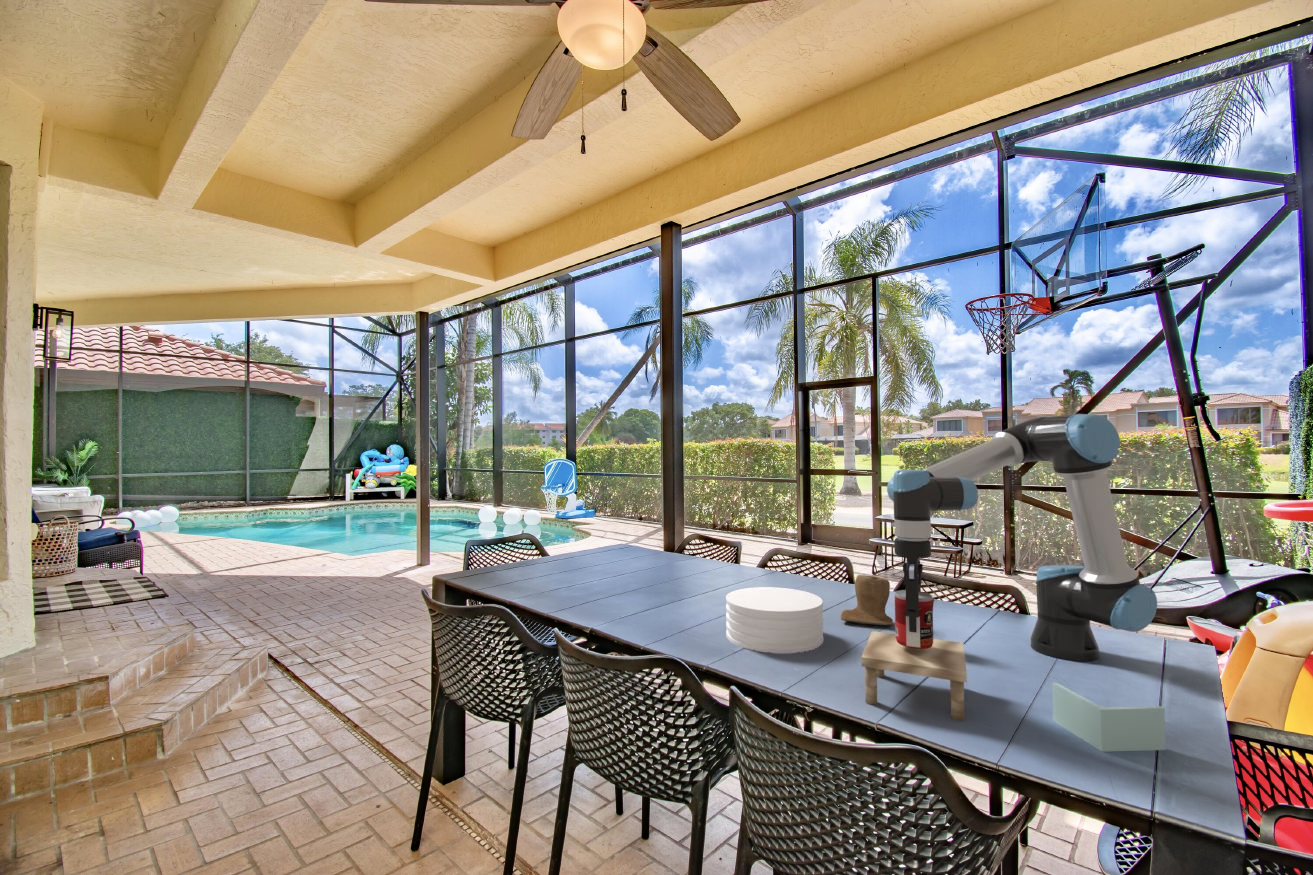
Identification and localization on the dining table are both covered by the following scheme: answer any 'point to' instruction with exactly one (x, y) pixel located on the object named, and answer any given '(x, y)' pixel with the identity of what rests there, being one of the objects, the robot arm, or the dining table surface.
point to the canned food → (925, 619)
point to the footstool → (916, 665)
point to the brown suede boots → (869, 601)
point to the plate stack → (774, 619)
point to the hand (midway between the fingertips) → (914, 640)
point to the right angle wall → (1109, 722)
